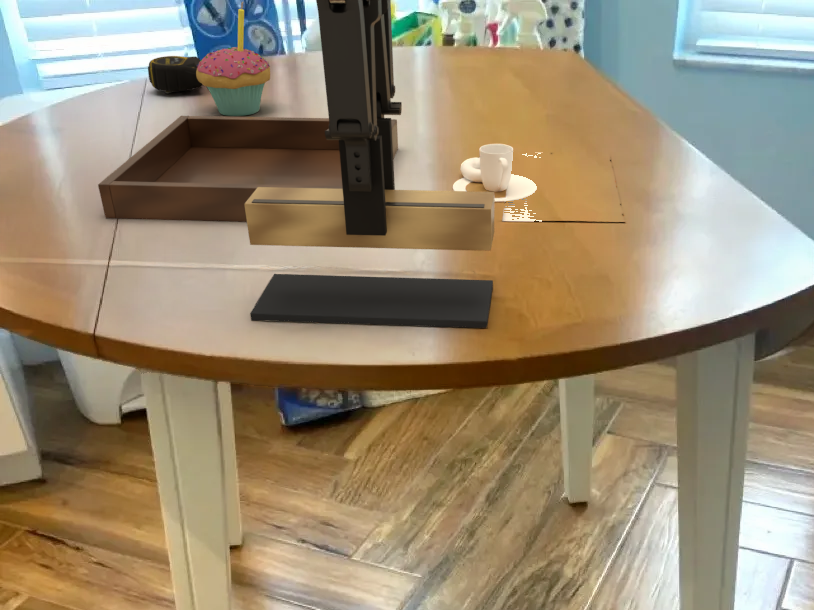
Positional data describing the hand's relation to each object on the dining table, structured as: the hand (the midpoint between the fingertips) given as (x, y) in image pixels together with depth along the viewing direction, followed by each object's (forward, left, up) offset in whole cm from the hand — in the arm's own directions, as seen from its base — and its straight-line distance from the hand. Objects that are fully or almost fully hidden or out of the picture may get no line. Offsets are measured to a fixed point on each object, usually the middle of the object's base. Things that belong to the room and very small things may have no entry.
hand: (371, 221), depth 67 cm
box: (-15, +26, -6) cm, 30 cm away
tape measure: (-35, +62, -6) cm, 71 cm away
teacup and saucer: (+9, +28, -6) cm, 30 cm away
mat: (0, 0, -6) cm, 6 cm away
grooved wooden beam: (0, 0, -1) cm, 1 cm away
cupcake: (-25, +52, -6) cm, 58 cm away
